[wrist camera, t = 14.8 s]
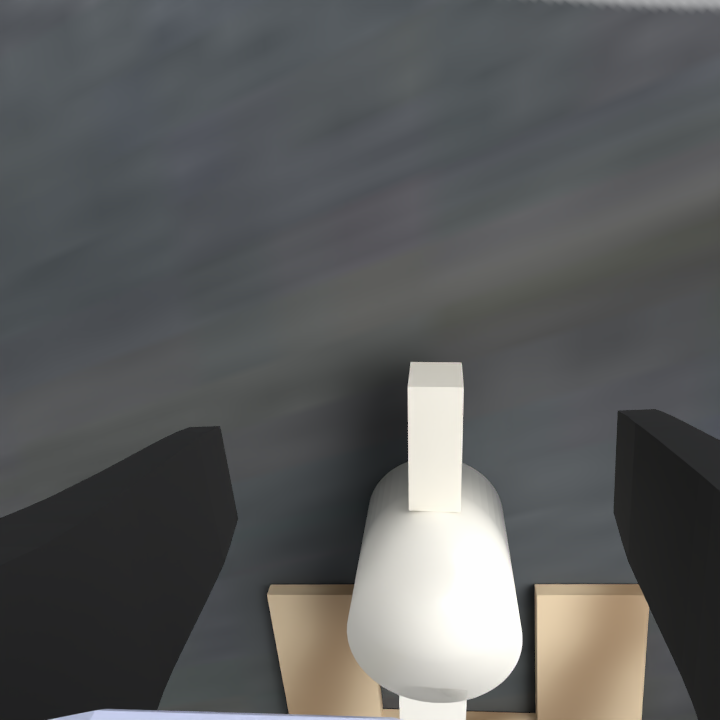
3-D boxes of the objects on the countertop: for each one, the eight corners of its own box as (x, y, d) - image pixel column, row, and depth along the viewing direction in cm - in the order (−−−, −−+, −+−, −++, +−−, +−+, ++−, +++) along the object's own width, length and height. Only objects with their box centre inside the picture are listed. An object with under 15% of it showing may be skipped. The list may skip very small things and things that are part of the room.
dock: (644, 583, 24) (649, 595, 23) (631, 781, 27) (636, 795, 27) (270, 584, 26) (266, 594, 25) (304, 768, 29) (301, 780, 29)
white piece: (499, 591, 25) (516, 729, 19) (370, 584, 25) (351, 716, 20) (512, 347, 21) (537, 430, 16) (362, 347, 22) (336, 425, 16)
